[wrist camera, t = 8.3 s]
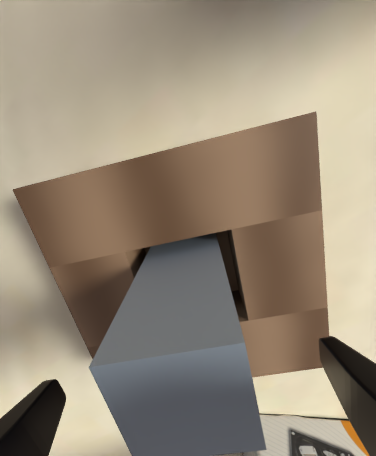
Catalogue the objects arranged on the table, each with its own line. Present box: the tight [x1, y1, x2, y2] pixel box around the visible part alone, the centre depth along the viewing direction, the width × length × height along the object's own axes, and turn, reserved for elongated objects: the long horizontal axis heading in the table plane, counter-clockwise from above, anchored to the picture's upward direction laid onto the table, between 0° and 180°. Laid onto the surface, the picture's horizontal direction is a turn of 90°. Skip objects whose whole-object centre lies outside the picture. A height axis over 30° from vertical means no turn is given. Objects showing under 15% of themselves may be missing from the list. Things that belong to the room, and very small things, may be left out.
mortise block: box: [13, 112, 329, 377], centre depth 14 cm, size 14×14×4 cm
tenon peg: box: [89, 233, 267, 456], centre depth 10 cm, size 4×4×9 cm
